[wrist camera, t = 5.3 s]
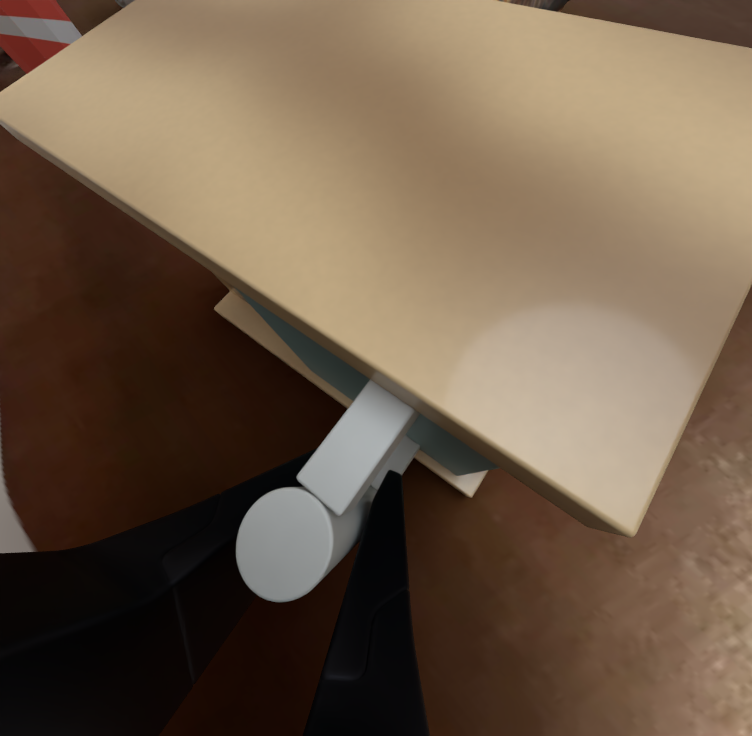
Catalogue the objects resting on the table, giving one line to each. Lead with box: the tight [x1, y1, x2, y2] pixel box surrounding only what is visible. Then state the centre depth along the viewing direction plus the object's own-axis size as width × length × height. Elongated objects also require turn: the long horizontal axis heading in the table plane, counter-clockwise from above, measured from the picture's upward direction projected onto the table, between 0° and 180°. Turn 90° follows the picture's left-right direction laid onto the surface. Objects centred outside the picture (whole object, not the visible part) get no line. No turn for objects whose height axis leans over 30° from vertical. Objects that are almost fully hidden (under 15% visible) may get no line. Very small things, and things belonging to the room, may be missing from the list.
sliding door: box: [233, 286, 500, 602], centre depth 10 cm, size 5×9×10 cm, turn 53°
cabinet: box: [0, 0, 752, 538], centre depth 13 cm, size 10×18×12 cm, turn 53°
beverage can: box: [0, 0, 82, 74], centre depth 27 cm, size 6×6×12 cm
